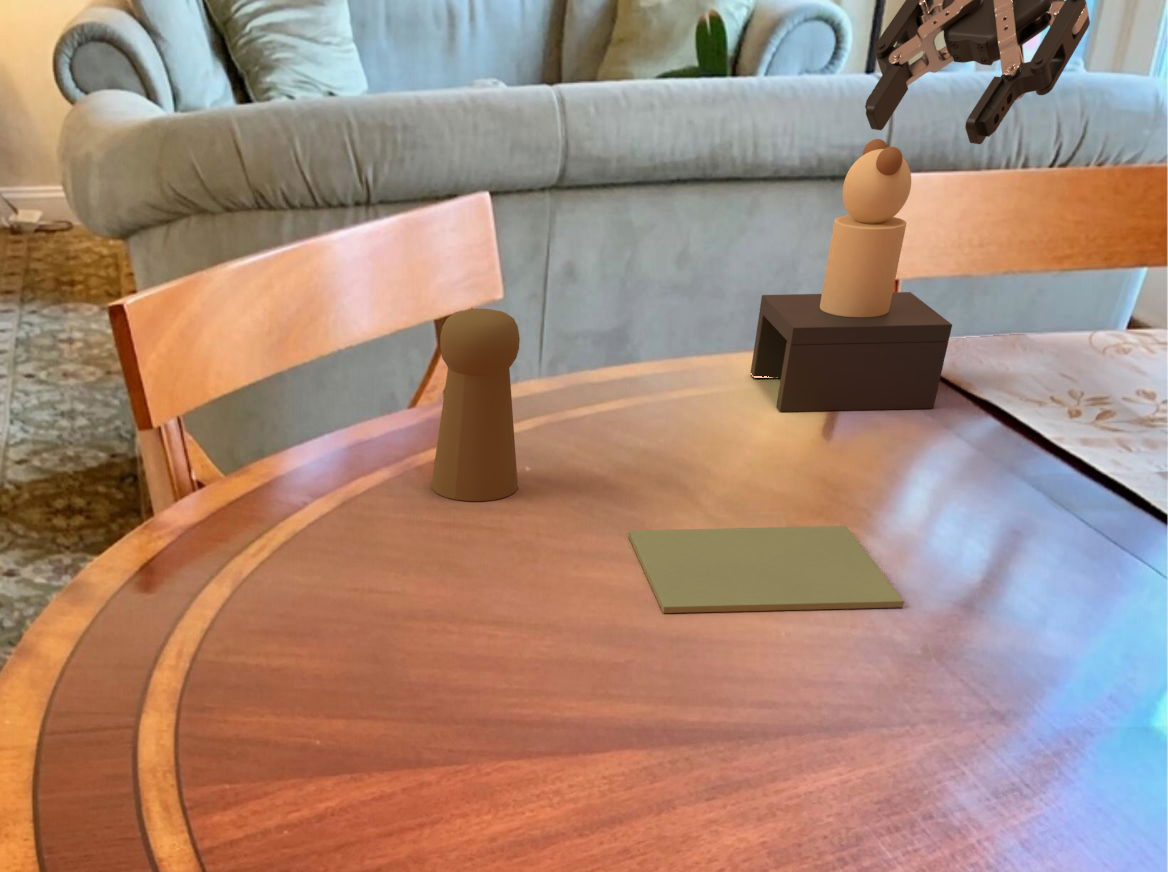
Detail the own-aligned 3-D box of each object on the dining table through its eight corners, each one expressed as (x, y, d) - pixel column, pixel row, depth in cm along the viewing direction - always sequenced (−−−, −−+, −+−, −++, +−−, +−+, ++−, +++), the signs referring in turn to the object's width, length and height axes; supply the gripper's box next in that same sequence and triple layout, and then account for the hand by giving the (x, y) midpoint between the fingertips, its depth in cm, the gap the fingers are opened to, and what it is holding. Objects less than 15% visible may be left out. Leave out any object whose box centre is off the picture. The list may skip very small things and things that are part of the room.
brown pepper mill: (473, 465, 105) (479, 295, 98) (536, 486, 102) (547, 312, 94) (412, 485, 102) (414, 312, 95) (475, 507, 98) (481, 329, 91)
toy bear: (877, 300, 116) (909, 136, 109) (897, 317, 112) (932, 148, 105) (811, 301, 116) (839, 137, 108) (829, 318, 112) (859, 149, 104)
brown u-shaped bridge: (894, 371, 121) (910, 291, 118) (933, 408, 114) (952, 324, 110) (749, 374, 121) (761, 294, 117) (779, 412, 114) (793, 327, 110)
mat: (844, 531, 94) (846, 525, 94) (902, 607, 85) (904, 600, 85) (628, 536, 94) (628, 530, 94) (663, 613, 85) (663, 606, 85)
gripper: (952, -122, 108) (826, 80, 109) (1137, -120, 99) (996, 99, 101) (975, -36, 114) (854, 154, 115) (1151, -27, 105) (1018, 178, 107)
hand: (921, 128), depth 108 cm, fingers open, 8 cm apart
